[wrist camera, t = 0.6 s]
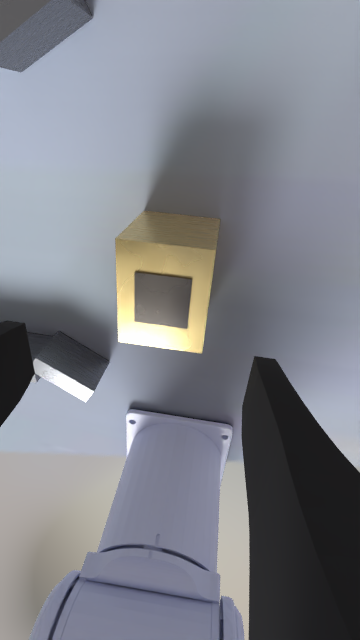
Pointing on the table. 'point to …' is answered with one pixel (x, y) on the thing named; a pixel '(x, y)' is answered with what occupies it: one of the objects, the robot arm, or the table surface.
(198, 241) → the brass cube with recess
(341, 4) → the table surface
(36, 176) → the table surface
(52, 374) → the grey square frame
